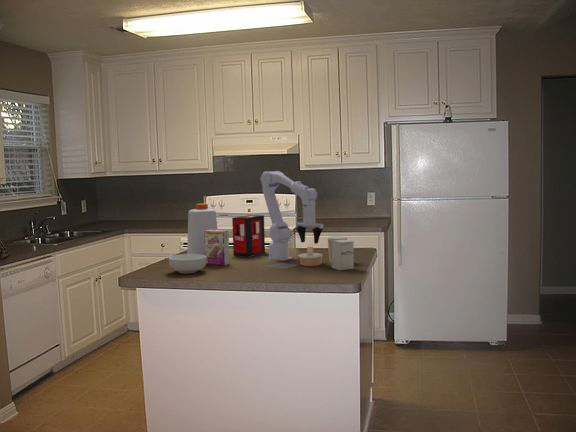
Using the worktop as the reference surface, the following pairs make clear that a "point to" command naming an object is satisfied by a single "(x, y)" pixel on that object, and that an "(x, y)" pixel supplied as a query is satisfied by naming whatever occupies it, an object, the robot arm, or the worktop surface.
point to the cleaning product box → (248, 235)
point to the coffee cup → (331, 244)
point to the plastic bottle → (199, 227)
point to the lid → (310, 254)
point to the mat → (281, 265)
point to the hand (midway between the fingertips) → (309, 242)
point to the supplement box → (342, 254)
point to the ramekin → (310, 261)
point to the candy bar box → (216, 247)
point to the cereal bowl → (187, 263)
